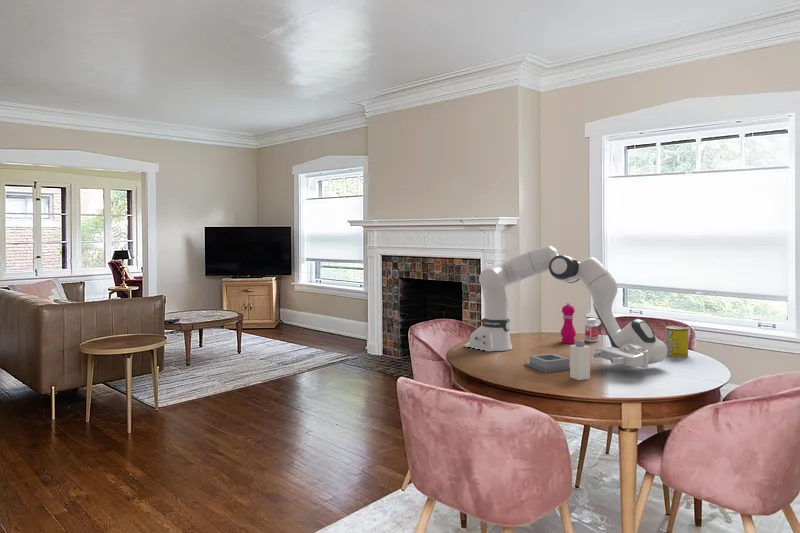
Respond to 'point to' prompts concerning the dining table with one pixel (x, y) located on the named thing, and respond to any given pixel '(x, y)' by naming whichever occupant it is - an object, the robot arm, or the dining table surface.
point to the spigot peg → (580, 361)
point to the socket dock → (548, 363)
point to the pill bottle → (591, 330)
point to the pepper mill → (568, 324)
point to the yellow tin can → (676, 341)
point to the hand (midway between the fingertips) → (602, 358)
